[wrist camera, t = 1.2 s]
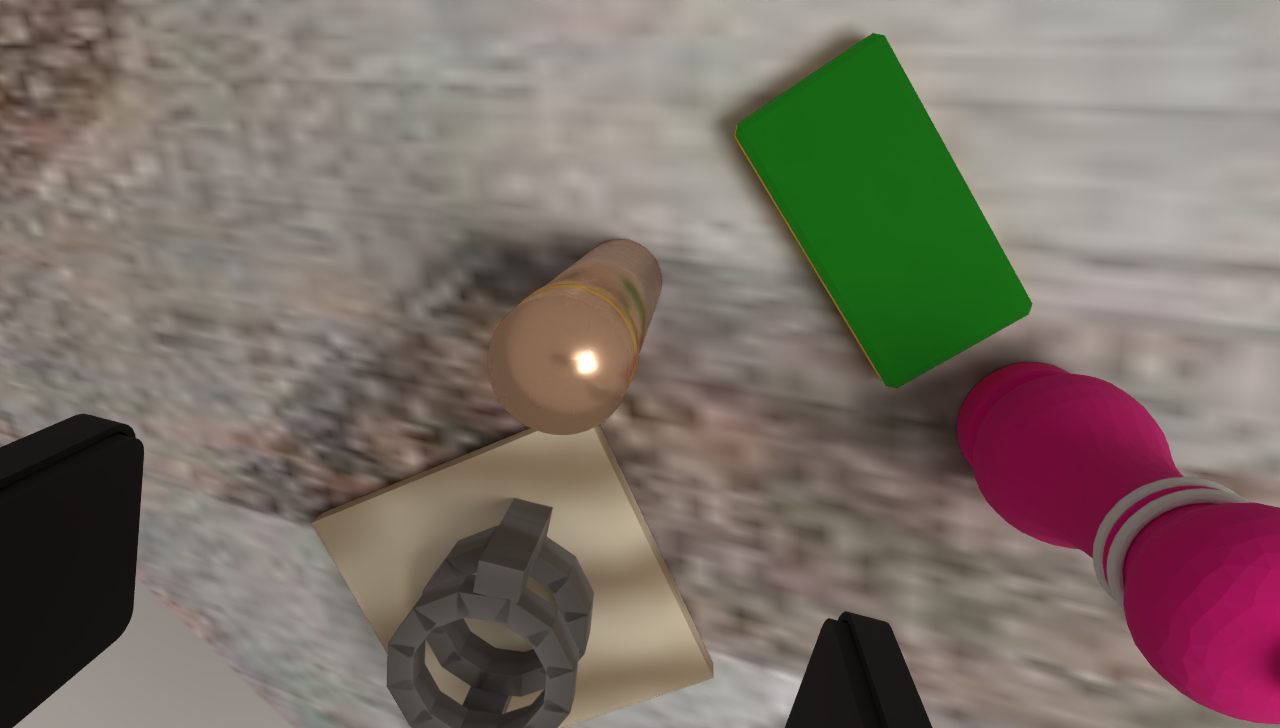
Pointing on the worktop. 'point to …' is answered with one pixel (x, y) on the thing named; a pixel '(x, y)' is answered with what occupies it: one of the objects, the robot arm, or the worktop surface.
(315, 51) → the worktop surface
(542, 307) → the tan cylinder
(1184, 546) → the pepper mill
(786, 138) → the dish sponge
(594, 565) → the collar stand
